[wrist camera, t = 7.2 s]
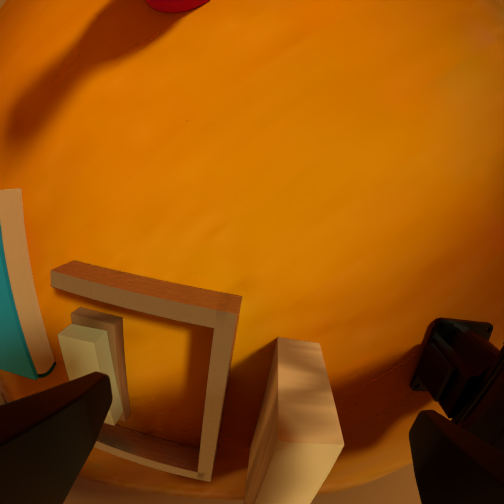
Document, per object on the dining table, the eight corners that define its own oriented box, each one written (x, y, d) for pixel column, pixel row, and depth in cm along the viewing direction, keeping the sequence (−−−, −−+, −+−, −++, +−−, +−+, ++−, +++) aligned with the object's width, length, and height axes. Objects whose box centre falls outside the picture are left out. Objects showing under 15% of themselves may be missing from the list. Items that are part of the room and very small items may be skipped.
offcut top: (106, 330, 20) (93, 342, 18) (123, 411, 22) (114, 425, 20) (71, 323, 21) (57, 334, 19) (90, 402, 22) (80, 415, 20)
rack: (242, 296, 21) (237, 314, 18) (215, 459, 24) (210, 482, 21) (73, 260, 21) (50, 270, 18) (89, 421, 25) (77, 439, 22)
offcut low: (125, 314, 22) (114, 324, 20) (133, 408, 24) (125, 422, 22) (83, 304, 22) (71, 313, 20) (96, 397, 25) (87, 409, 23)
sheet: (319, 342, 21) (344, 444, 11) (283, 451, 24) (282, 542, 14) (277, 336, 21) (278, 440, 11) (250, 447, 24) (239, 538, 14)
